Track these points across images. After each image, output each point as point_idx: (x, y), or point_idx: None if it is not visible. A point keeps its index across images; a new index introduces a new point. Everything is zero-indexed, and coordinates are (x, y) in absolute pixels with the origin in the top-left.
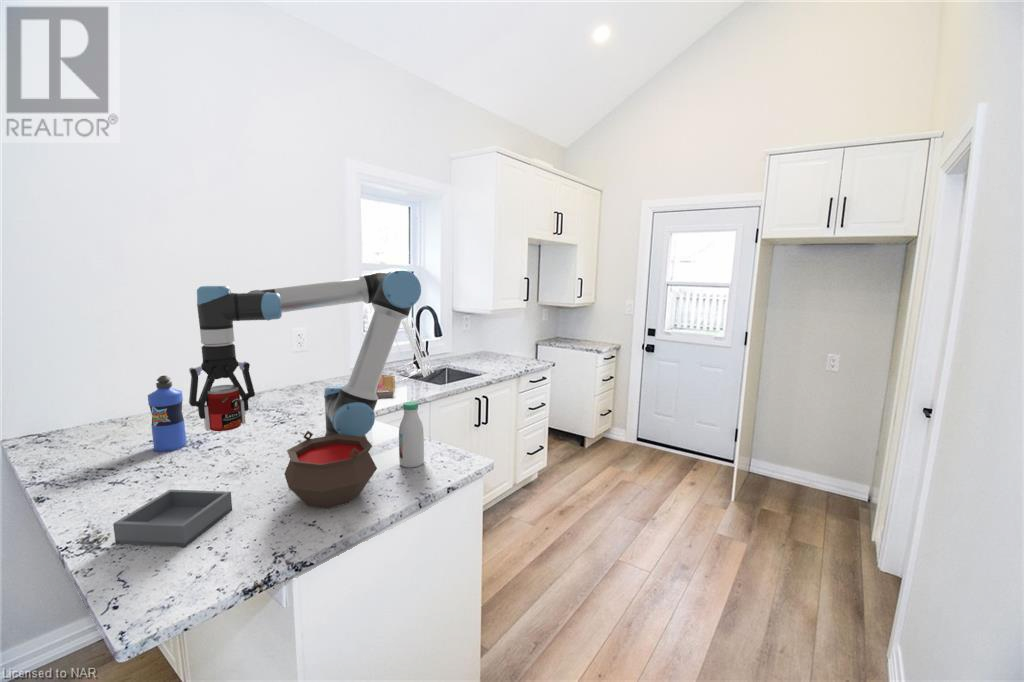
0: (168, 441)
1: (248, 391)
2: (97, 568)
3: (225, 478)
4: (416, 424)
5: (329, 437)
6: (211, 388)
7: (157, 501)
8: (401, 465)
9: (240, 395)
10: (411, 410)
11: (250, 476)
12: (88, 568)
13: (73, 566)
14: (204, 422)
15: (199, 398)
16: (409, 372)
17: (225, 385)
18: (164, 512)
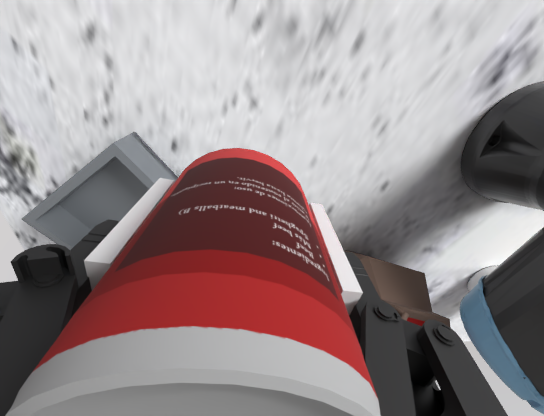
0: None
1: (433, 363)
2: (42, 244)
3: (265, 58)
4: None
5: (424, 317)
6: (85, 405)
7: (91, 175)
8: (471, 278)
9: (361, 335)
10: None
11: (308, 102)
12: (29, 236)
13: (6, 218)
14: (147, 193)
15: (3, 329)
16: None
17: (308, 402)
18: (117, 162)
